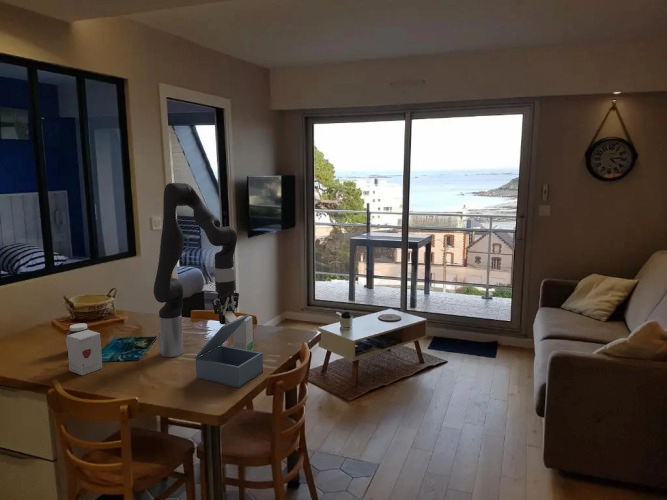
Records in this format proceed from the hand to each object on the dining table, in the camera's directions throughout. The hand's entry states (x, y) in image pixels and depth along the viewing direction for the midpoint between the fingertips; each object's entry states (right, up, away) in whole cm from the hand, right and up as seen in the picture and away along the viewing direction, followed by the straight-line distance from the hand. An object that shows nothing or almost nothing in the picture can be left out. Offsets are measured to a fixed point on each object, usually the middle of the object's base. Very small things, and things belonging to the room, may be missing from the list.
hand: (227, 321), depth 183 cm
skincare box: (+1, -18, +28) cm, 33 cm away
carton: (0, -22, +3) cm, 22 cm away
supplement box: (-59, -21, +8) cm, 63 cm away
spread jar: (-71, -18, +27) cm, 78 cm away
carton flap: (-2, -6, +2) cm, 7 cm away
